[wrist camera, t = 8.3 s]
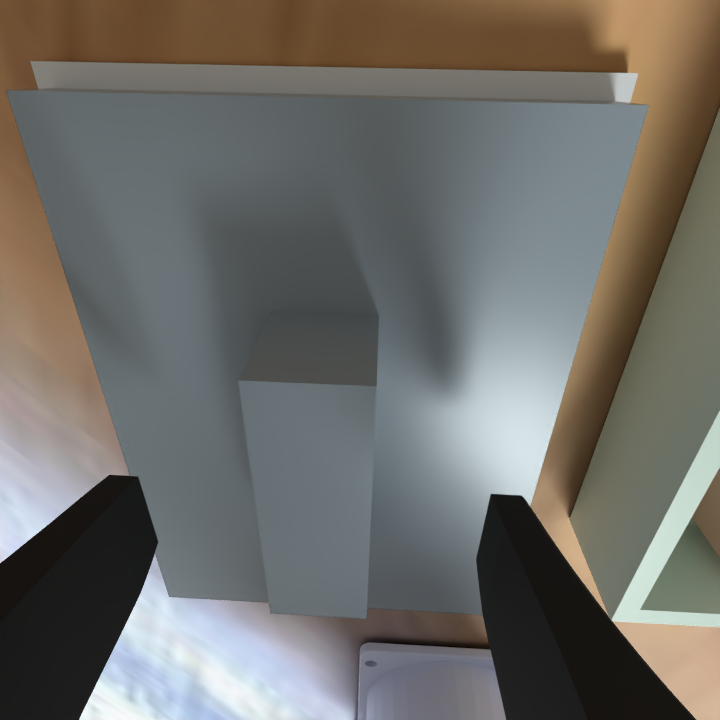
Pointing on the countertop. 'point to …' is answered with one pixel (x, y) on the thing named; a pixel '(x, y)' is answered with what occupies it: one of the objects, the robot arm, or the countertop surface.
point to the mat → (337, 80)
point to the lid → (328, 319)
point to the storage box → (665, 438)
